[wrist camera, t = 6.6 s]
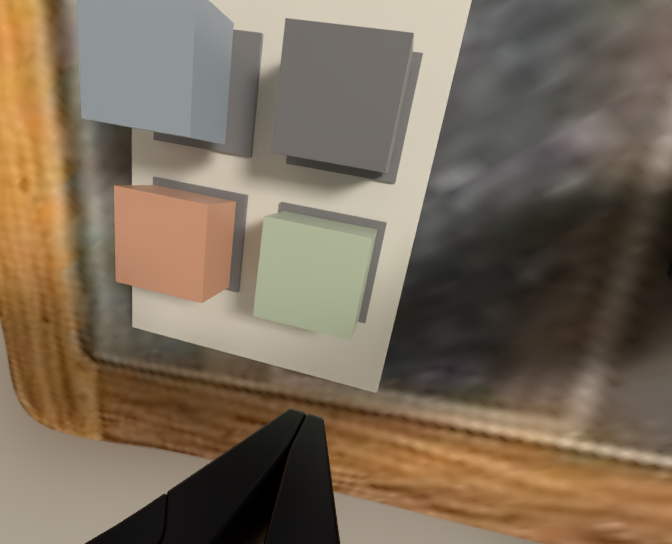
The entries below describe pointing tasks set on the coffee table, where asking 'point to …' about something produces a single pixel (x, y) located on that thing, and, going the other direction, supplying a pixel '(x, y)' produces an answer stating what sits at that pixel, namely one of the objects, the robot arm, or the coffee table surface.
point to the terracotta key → (173, 241)
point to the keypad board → (304, 186)
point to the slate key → (156, 65)
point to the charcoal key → (341, 93)
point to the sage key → (313, 272)
